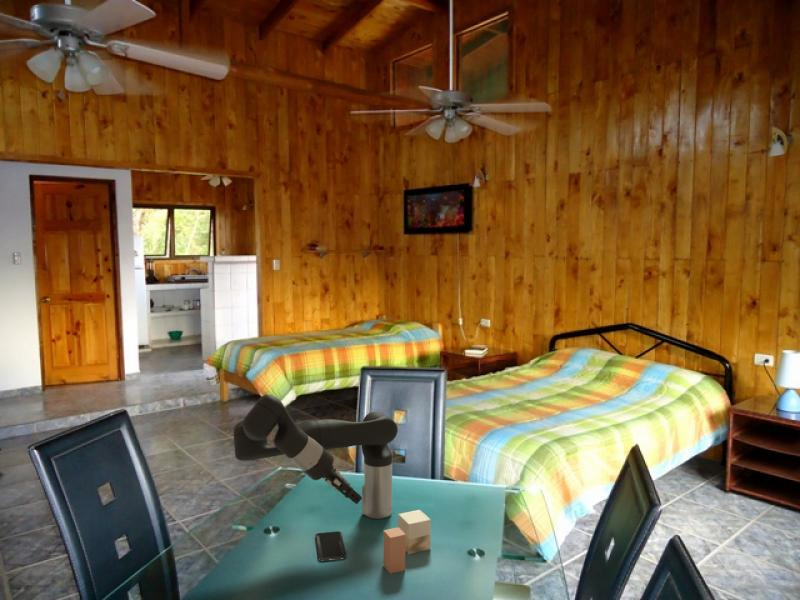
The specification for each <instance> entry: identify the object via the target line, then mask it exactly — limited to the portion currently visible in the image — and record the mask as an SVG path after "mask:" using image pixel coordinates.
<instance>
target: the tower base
mask: <svg viewBox="0 0 800 600" xmlns="http://www.w3.org/2000/svg"><path fill="white" fill-rule="evenodd" d="M431 537H432V535H431V534H430V535H426V536H422V537H417V538H413V539H408V538H407V537H406V549H405V552H406V551H407V552H406V553H407V554H408V555H411V554H415V552H416V553H419V551H420V552H423V551H427V550H431V541H432V540H431Z"/></svg>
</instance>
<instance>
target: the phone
mask: <svg viewBox="0 0 800 600" xmlns="http://www.w3.org/2000/svg"><path fill="white" fill-rule="evenodd" d="M315 543H316V544H317V545H316V552H317V551H318V552H317V559H318V558H319V559H320V560H329V559H341V558H345V557H346V558H347V552H346V548H345V543H344V538H343V534H342V532H341V531H328V532H317V533H316V534H315ZM346 558H345V559H346Z"/></svg>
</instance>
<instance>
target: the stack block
mask: <svg viewBox="0 0 800 600" xmlns="http://www.w3.org/2000/svg"><path fill="white" fill-rule="evenodd" d="M405 549H406V534H405V533H404V532H403V531H402V530H401V529H400V528H399V527H398V526H397V527H392V528H389V529H385V530H384V529H383V551H382V552H383V558H382V559H383V560H382V561H383V565H384V566H385V567H384V566H383V567H384V568H385V569H386V571H387V570H388V571H387V572H388V573H389V574H390V573H391V574H394V572H395V573H399V572H402V570H403V571H406V551H405Z"/></svg>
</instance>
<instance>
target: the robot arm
mask: <svg viewBox="0 0 800 600" xmlns="http://www.w3.org/2000/svg"><path fill="white" fill-rule="evenodd" d="M276 425H278V429H277V431H276V433H275V436H274V439H273V444H272V445H268V436H269V435H270V434H271V432H272V431H273V430H274V428H275V427H276ZM398 431H399V429H398V426H397V423H396V422H395V421H394V420H393V419H392V418H391V417H390V416H388V415H386V414H384V413H382V412H380V411H371V412H368V413H367V414H366V415H365V416H364V418H363V420H362V421H357V422H356V421H348V420H341V419H340V420H339V419H332V418H331V419H330V418H329V419H315V420H308V421H306V422H304V423H302V424H301V425H300V426H298V425H297V424H296V422H295V421H294V419H293V418H292V417H291V414H290V413H289V412H288V410H287V408H286V406H285V405H284V404H283V403H282V401H281V400H280V399H279V398H278V397H276V396H274V395H273V394H264V395H262V396H261V397H260V398H259V399H258V400H257V401H256V403H255V404H254V405H253V407H252V408H251V409H250V410H249V412H248V413H247V414H246V416H245V417H244V419H243V420H240V421H239V422H237V424H236V425H235V426H234V428H233V443H234V445H233V446H234V456H235V458H236V460H238V461H243V462H245V461H246V462H248V461H256V460H260V459H267V458H271V457H272V458H273V457H278V456H282V455H285V456H286V457H288V459H289V460H290V461H291V462H292V463H293V464H294V465H295V466H296V467H297V468H299V469H300V470H301V472H303V473H304V474H305V475H306V476H307V477H309V478H310V479H311V480H313V481H319V480H321V479H323V480H324V481H325V482H326V483H327V484H328V485H330V486H331V487H332V488H333V489H334V490H336V491H337V492H340V494H342V495H343V496H344V497H345V498H347V499H350V500H351V501H352V502H353V503H354V504H355V505H357V504H359V503H360V501H361V515H364V516H366V517H368V518H370V519H378V520H379V519H385V518H388V517H390V516H392V514H393V453H392V452H391V450H390V448H389V446H388V445H389V443H392V442H393V441H394V440H395V439H396V437H397V435H398ZM357 446H361V453H362V455H363V464H364V465H363V476H364V477H363V484H362V486H361V495H360V494H359V493H358V492H357V491H356V490H354V488H353V486H351V483H349V482H348V480H347V479H346V477H344V476H343V475H342V474H341V472H340V471H339V470H338V469H337V468H336V467H335V466H334V461H335V459H334V456H333V455H332V454H331V453H330V452H329V450H333V449H334V450H335V449H341V448H342V449H343V448H350V447H357Z"/></svg>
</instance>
